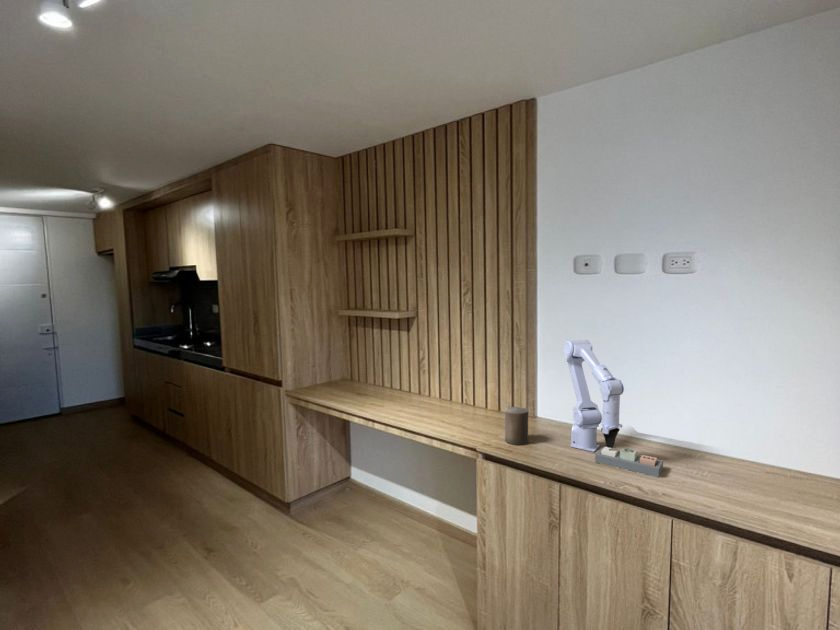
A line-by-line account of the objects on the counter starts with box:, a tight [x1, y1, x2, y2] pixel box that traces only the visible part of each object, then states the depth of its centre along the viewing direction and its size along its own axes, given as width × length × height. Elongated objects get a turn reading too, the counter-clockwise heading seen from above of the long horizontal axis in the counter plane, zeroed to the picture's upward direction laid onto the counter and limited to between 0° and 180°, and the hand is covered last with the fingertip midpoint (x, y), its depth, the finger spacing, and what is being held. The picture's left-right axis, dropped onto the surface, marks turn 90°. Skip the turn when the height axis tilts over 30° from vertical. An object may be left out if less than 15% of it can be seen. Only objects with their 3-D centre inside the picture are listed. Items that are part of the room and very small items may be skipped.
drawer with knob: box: [601, 446, 619, 457], centre depth 162 cm, size 5×5×4 cm
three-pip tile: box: [640, 454, 658, 466], centre depth 154 cm, size 5×5×4 cm
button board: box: [594, 446, 664, 478], centre depth 158 cm, size 21×9×3 cm, turn 52°
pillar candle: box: [504, 406, 529, 446], centre depth 183 cm, size 10×10×15 cm
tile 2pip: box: [619, 447, 638, 462], centre depth 158 cm, size 5×5×4 cm
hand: (609, 447), depth 162 cm, fingers closed
